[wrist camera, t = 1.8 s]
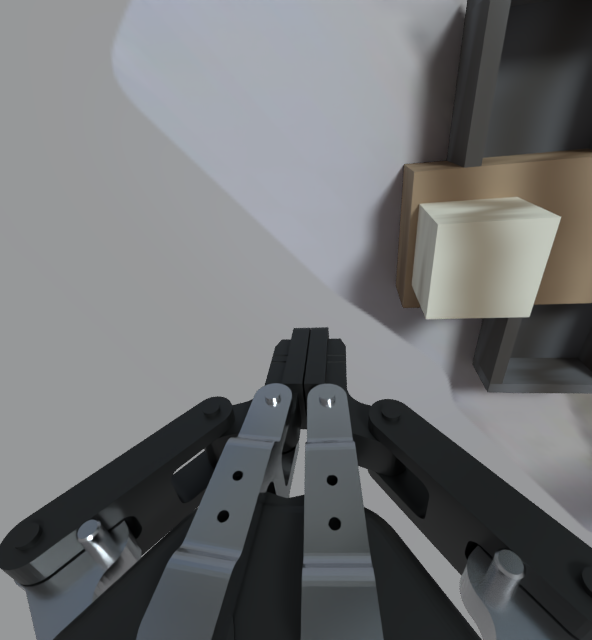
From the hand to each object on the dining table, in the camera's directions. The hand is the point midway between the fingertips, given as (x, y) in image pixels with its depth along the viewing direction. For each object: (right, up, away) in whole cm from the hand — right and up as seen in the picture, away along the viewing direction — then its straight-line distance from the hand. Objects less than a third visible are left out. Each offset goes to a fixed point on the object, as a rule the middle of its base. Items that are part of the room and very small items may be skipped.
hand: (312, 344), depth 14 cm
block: (+11, +6, +9) cm, 15 cm away
